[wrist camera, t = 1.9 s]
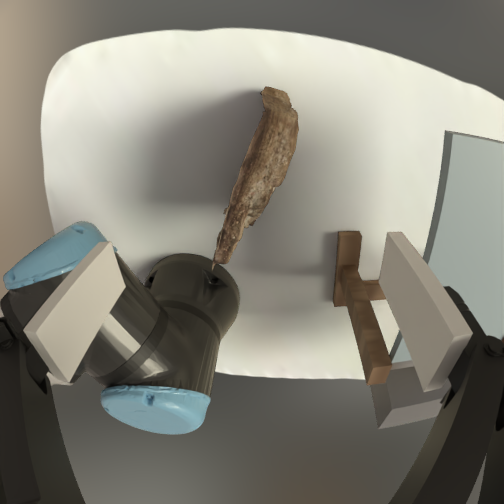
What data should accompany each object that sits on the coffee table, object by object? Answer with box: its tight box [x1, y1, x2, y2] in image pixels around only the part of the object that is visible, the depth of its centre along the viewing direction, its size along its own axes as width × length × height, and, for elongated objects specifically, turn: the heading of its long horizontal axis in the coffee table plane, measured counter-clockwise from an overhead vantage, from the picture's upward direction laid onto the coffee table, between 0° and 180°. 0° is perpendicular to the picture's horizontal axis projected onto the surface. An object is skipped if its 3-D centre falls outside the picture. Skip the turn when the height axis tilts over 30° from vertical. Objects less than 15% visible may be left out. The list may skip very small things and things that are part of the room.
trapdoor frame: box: [333, 231, 504, 385], centre depth 32 cm, size 22×12×20 cm, turn 95°
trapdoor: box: [370, 130, 504, 429], centre depth 22 cm, size 16×33×7 cm, turn 5°
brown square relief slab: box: [212, 87, 299, 270], centre depth 28 cm, size 17×4×15 cm, turn 162°
